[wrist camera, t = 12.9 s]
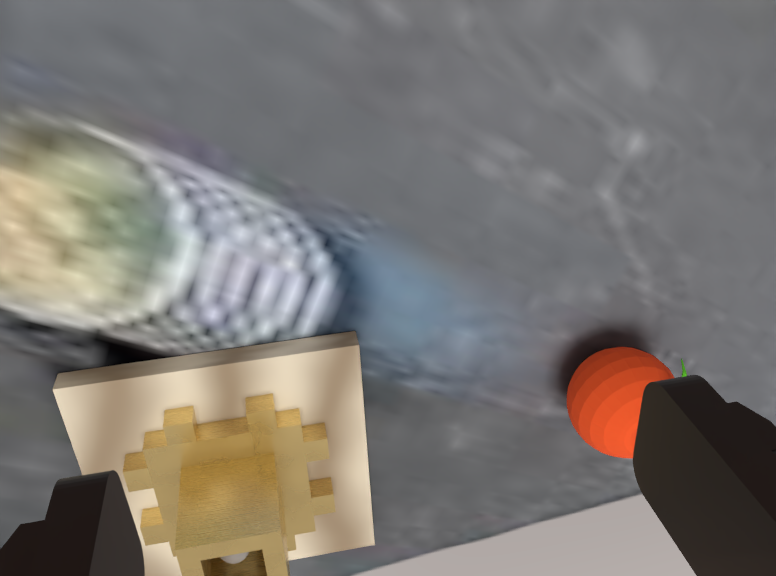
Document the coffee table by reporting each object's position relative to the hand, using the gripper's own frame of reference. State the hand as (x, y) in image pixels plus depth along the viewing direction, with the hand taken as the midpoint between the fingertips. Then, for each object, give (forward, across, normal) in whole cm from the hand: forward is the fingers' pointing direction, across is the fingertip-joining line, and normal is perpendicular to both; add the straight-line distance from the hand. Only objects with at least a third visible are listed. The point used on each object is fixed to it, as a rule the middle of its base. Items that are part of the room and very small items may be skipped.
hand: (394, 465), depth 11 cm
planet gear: (+27, +6, +25) cm, 37 cm away
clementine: (+28, -19, +22) cm, 40 cm away
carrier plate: (+28, +6, +25) cm, 38 cm away
